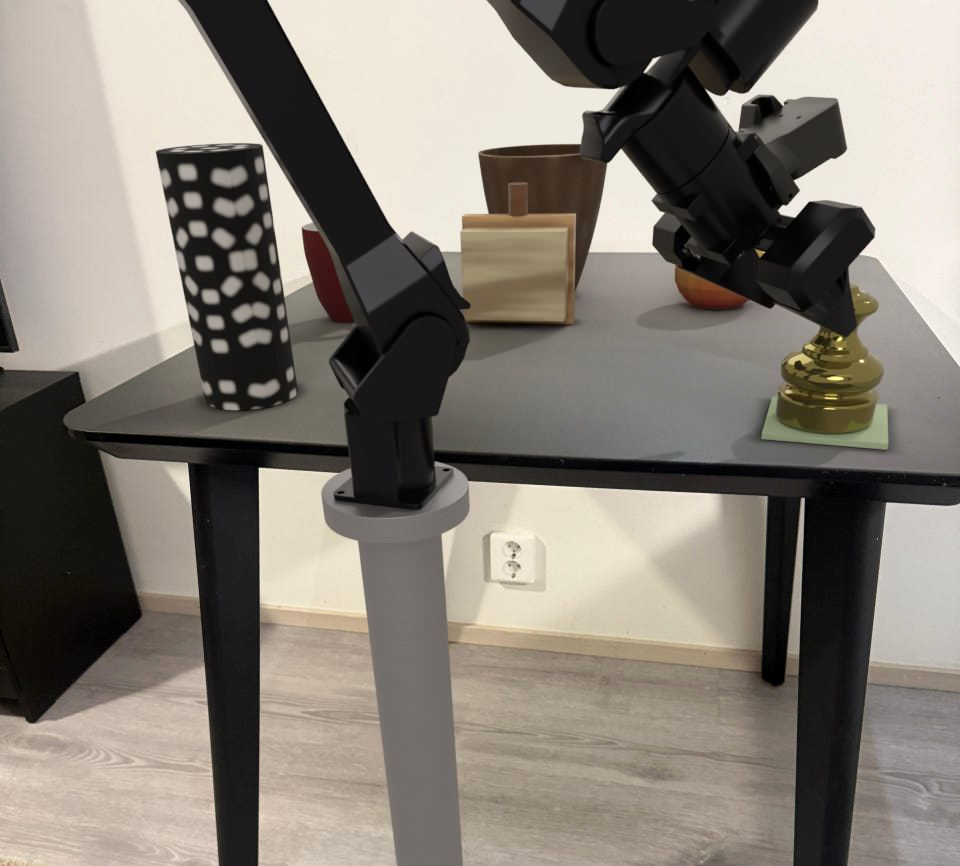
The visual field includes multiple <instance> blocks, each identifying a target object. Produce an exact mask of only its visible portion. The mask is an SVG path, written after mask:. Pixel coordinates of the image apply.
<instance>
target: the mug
mask: <svg viewBox="0 0 960 866" xmlns="http://www.w3.org/2000/svg"><path fill="white" fill-rule="evenodd" d="M301 237H302V244H303V245H302V246H303V252H304V257H305V261H306V263H307V266H308V267H307V268H308V270H309V274H310V277H311V280H312V285H313V287H314V292H315V294H316V298H317V300H318V302H319V303H320V305H321V307H322V308H323V310H324V311H325V313H326V314H327V316H328V317H329V319H330V320H331V321H333V322H338V323H351V322H355V321H354V319H353V316H352V314H351V311H350V309H349V306H348V304H347V301H346V299H345V296H344V293H343V290H342V287H341V284H340V281H339V278H338V275H337V272H336V269H335V266H334V262H333V259H332V257H331V254H330V251H329V249H328V247H327V245H326V243H325V242H324V240H323V238H322V237H321V235H320V233H319V232H318V230H317V228H316V227H315V225H314V223H313V222H311V223H307V224H304V225H302V226H301Z"/></svg>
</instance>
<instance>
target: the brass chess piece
mask: <svg viewBox="0 0 960 866" xmlns="http://www.w3.org/2000/svg"><path fill="white" fill-rule="evenodd" d="M850 288H851V293H852V299H853V304H854V309H855V315H856V320H857V327H856V329H855V330H854V331H853V332H852V333H851V334H850V335H849V336H848V337H846V338H845V337H842V336H840V335H838V334H836V333H834V332H832V331H830V330H828V329H826V328H824V327H822V326H820V325H819V330H818V332H817V333H816V334H815V335H813V336H812V338H810V340H808V341H806V342H804V343H803V344H802V347H801V348H799V349H796V350H794V351H792V352H790V353H789V354H788V355H786V356H785V357H784V358H783V360H782V361H781V365H780V376H781V378H782V379H783V381H784V383H782V384H781V385H780V386H778V388H777V397H778V399H777V405H776V412H775V413H776V416H777V418H778V419H779V420H780V421H781V422H783V423H784V424H786V425H788V426H790V427H793V428H796V429H799V430H803V431H808V432H814V433H824V434H842V433H850V432H855V431H859V430H862V429H864V428H866V427H868V426H869V425H871V424H872V422H873V420H874V414H875V409H876V404H878V401H879V399H880V396H879V394H878V392H877V391H876V390H875V388H877V386H879V385H880V384H881V382H882V380H883V378H884V374H885V366H884V364H883V362H882V361H881V360H880V359H879V357H877V356H876V355H874V354H872V353H871V352H869V347H868V346H867V345H866V344H865V343H863V341H862V339H861V338H860V336H859V334H858V329H859V327H860V326H861V324H862V323H863V322H864V321H865V320H866V319H867V318H869V317H870V316H872V315H873V314H875V313H876V312H877V311H879V309H880V301H879V299H877V298H876V297H875V296H873V295H871V293H869V292H867V291H864V290H861V289H860V286H859V285H857V284H854V283H850Z"/></svg>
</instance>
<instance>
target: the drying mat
mask: <svg viewBox="0 0 960 866" xmlns="http://www.w3.org/2000/svg"><path fill="white" fill-rule="evenodd" d="M777 399H778V396H771V400H770V403H769V406H768V410H767V413H766V416H765V420H764V424H763V428H762V431H761V436H760V439H761V440H765V441H768V440H769V441H779V442H788V443H789V442H791V443H803V444H813V445H824V446H835V447H847V448H859V449H861V448H862V449H870V450H871V449H872V450H885V451H887V450H888V447H889V421H888V420H889V419H888V418H889V417H888V404H882V403H877V404H876V409H875V414H874V420H873V422H872V424H871V425H869V426H868V427H866V428H864V429H862V430H859V431H855V432H850V433H842V434H824V433H814V432H808V431H803V430H799V429H796V428H793V427H790V426H788V425H786V424H784V423H783V422H781V421H780V420H779V419H778V418H777V416H776V413H775V412H776V405H777Z"/></svg>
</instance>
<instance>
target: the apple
mask: <svg viewBox="0 0 960 866" xmlns="http://www.w3.org/2000/svg"><path fill="white" fill-rule="evenodd" d="M755 250H756V249H755ZM756 252H757V253H758V255H759V257H761V256H762V255H763V254H764V253H765V252H763V251H759V250H756ZM674 265H675V264H674ZM674 282H675V285H676V288H677V290H678V292H679V294H680V295H681V296H682V298H683V299H684V300H686V301H687V303H689V304H691V305H692V306H694V307H696V308H699V309H705V310H716V311H717V310H730V309H736V308H739V307H740V306H743V305H744V304H745V303H748V302H749V301H750V300H749V299H746V298H744V297H742V296H740V295H738V294H735V293H733V292H731V291H729V290H726V289H724V288H722V287H720V286H718V285H715V284H713V283H711V282H709V281H706V280H704V279H702V278H700V277H698V276H695V275H693V274H691V273H689V272H686V271H684V270H682V269H680V268H679V267H678V265H675V267H674Z"/></svg>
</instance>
